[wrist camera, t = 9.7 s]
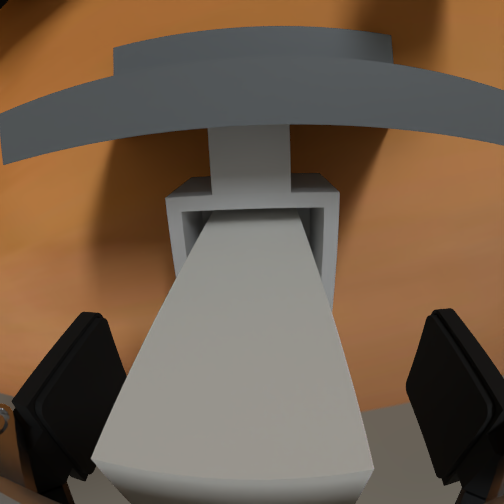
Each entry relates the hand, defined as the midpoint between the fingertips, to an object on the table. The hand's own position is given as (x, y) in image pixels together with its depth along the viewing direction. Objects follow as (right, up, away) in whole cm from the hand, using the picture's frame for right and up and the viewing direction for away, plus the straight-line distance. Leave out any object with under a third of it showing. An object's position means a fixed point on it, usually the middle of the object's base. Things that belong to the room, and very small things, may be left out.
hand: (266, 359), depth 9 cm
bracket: (0, +10, +11) cm, 15 cm away
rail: (0, +4, +9) cm, 9 cm away
